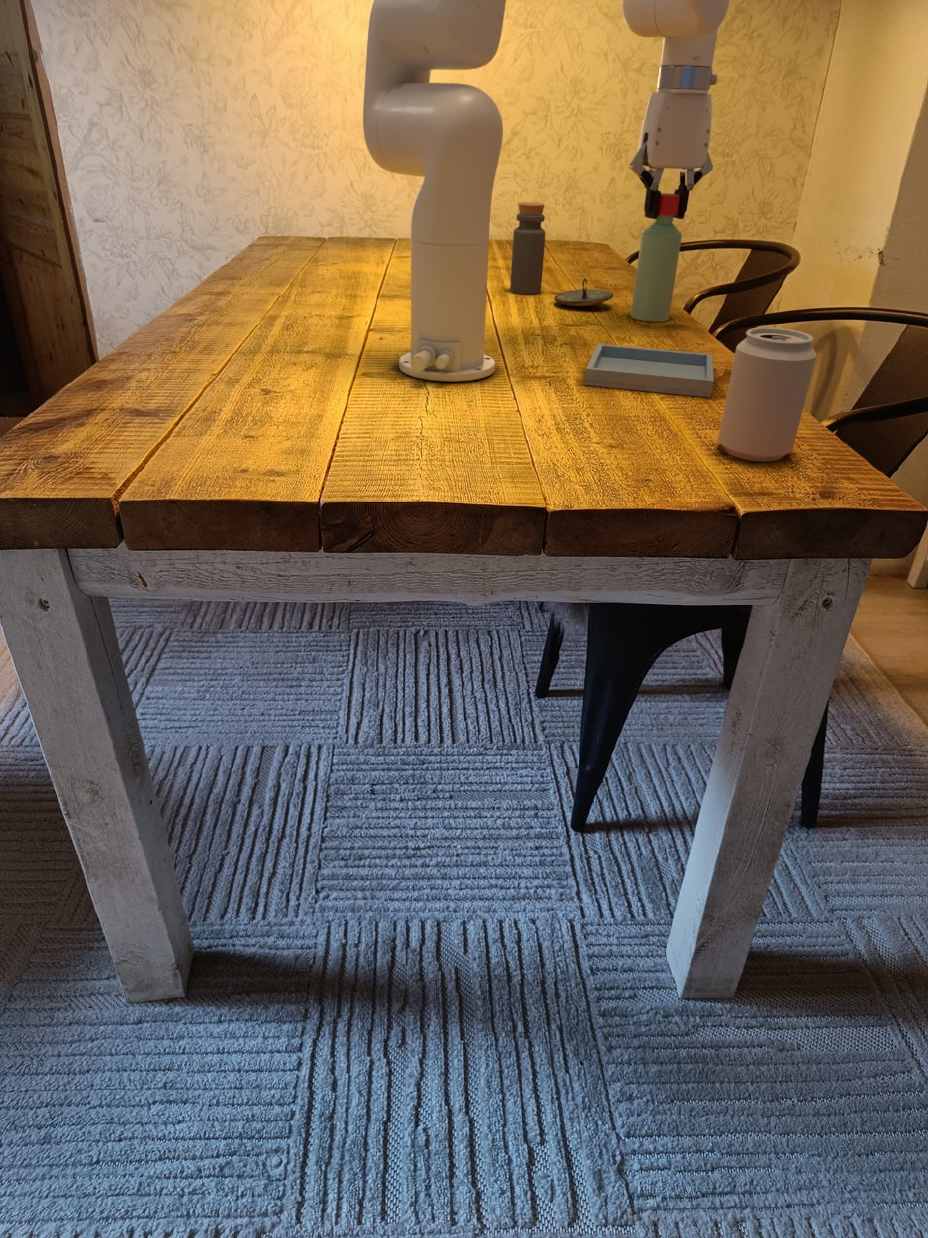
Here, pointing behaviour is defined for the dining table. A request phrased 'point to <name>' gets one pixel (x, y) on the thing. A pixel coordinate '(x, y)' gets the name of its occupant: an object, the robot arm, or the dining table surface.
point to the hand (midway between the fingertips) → (664, 216)
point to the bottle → (528, 250)
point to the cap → (669, 204)
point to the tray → (651, 370)
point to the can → (766, 393)
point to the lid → (583, 297)
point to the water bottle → (656, 270)
